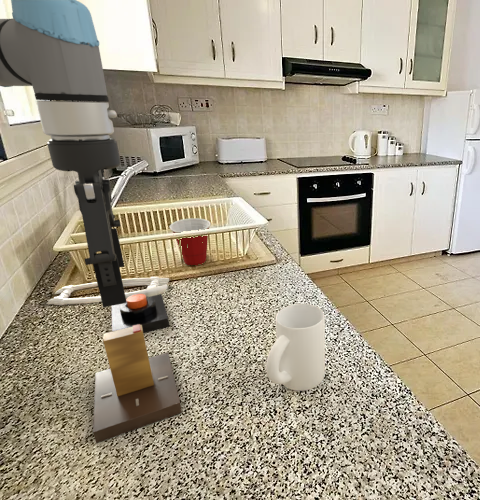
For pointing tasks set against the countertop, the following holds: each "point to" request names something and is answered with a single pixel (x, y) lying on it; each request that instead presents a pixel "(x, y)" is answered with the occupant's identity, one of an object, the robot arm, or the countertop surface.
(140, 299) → the bell button
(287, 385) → the mug
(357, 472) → the countertop surface
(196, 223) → the plastic cup
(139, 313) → the black base
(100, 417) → the plate
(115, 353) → the lock turn
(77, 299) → the door handle
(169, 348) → the countertop surface
